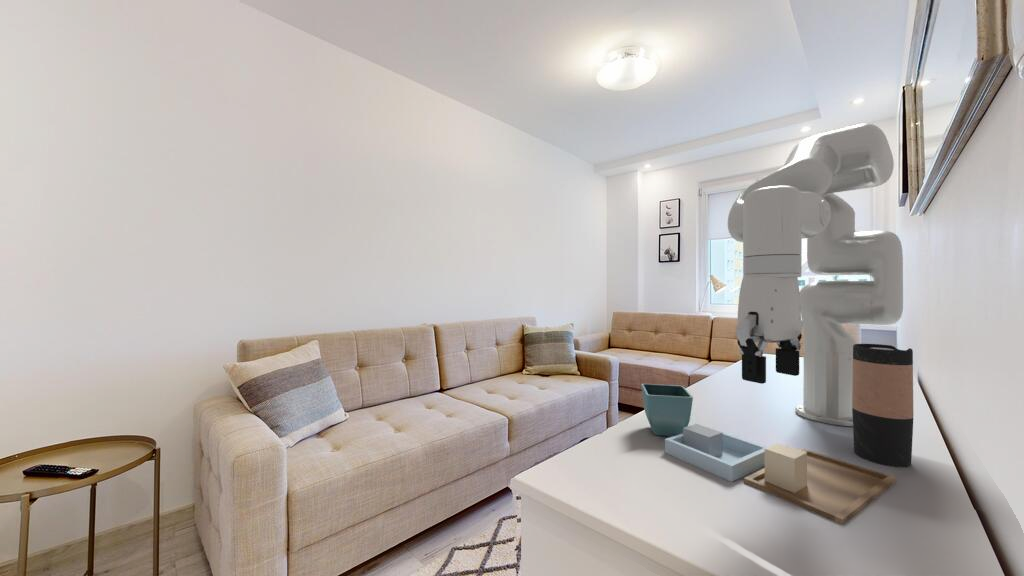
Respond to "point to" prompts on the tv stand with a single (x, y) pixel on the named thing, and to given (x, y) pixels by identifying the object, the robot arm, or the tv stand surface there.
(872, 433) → the travel mug
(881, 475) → the walnut tray
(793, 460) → the cream rectangular block
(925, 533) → the tv stand surface
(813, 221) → the robot arm
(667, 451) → the light blue tray
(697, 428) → the gray block
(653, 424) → the flower pot
